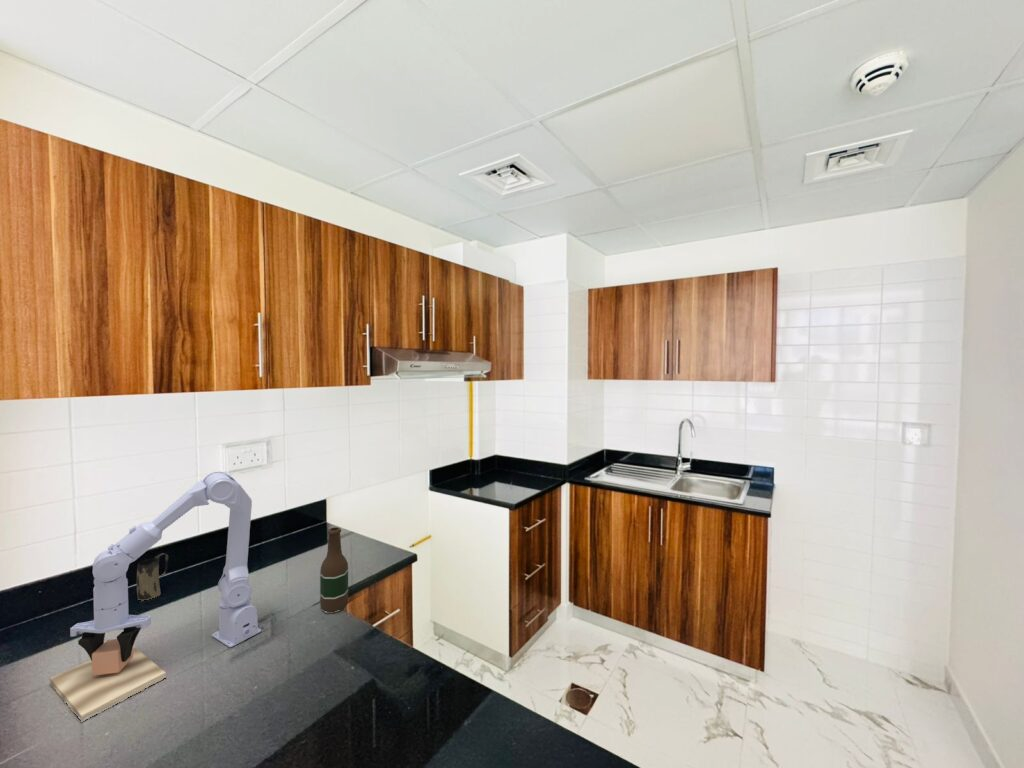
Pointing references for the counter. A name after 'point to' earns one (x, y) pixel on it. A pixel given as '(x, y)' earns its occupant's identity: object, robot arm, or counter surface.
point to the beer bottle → (334, 575)
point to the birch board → (105, 684)
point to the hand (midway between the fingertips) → (112, 660)
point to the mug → (149, 578)
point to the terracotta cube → (108, 658)
